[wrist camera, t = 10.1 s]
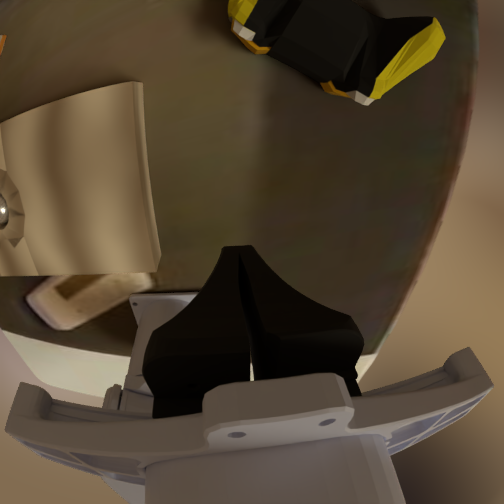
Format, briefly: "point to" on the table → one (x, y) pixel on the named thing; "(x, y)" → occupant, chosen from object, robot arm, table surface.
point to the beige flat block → (78, 187)
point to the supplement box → (2, 42)
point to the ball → (3, 210)
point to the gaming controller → (337, 42)
